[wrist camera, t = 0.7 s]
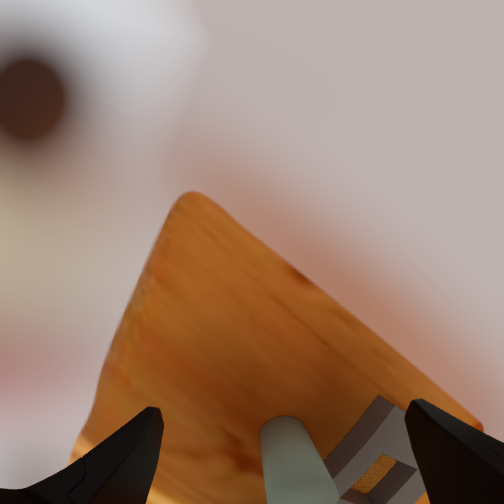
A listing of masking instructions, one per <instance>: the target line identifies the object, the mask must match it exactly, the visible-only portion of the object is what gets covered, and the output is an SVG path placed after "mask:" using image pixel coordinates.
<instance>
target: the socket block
mask: <svg viewBox="0 0 504 504" xmlns="http://www.w3.org/2000/svg"><path fill="white" fill-rule="evenodd" d="M405 413H406V412H405V411H403V410H401V409H400V408H398V407H397V406H395V405H394V404H392V403H390V402H389V401H387V400H385V399H384V398H382V397H381V396H379V395H378V396H377V397H376V399H375V400H374V401H373V403H372V404H371V405H370V407H369V408H368V409H367V411H366V412H365V413H364V415H363V416H362V417H361V418H360V420H359V421H358V422H357V423H356V425H355V426H354V427H353V428H352V429H351V431H350V432H349V433H348V434H347V435H346V437H345V438H344V439H343V440H342V441H341V442H340V443H339V445H338V446H337V447H336V448H335V449H334V450H333V451H332V452H331V453H330V455H329V456H328V457H327V458H326V459H325V460H324V461H323V463H324V465H325V466H326V468H327V470H328V472H329V474H330V476H331V478H332V480H333V481H334V483H335V485H336V487H337V489H338V491H339V500H338V503H337V504H414V503H415V502H416V501H417V500H418V499H419V498H420V497H421V496H422V495H423V494H424V492H425V491H426V488H425V485H424V483H423V480H422V477H421V474H420V471H419V468H418V465H417V463H416V460H415V457H414V454H413V451H412V448H411V444H410V440H409V436H408V432H407V428H406V424H405V420H404V417H405ZM382 453H383V454H385V455H387V456H389V457H391V458H394V459H396V460H398V461H397V463H396V464H395V465H394V466H393V467H392V468H391V470H390V471H389V472H388V473H387V474H386V475H385V476H384V477H383V478H382V479H381V481H380V482H379V483H378V484H377V485H376V486H375V487H374V488H373V489H372V490H371V491H370V492H369V493H368V494H364V493H361V492H358V491H355V490H353V489H350V488H351V487H352V486H353V485H354V484H355V483H356V482H357V481H358V479H359V478H360V477H361V476H362V475H363V474H364V473H365V472H366V471H367V470H368V469H369V468H370V467H371V466H372V464H373V463H374V462H375V461H376V460H377V459H378V458H379V457H380V455H381V454H382Z"/></svg>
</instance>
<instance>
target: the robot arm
mask: <svg viewBox="0 0 504 504" xmlns="http://www.w3.org/2000/svg"><path fill="white" fill-rule="evenodd" d="M404 420H405V424H406V428H407V432H408V436H409V440H410V444H411V448H412V451H413V454H414V457H415V460H416V463H417V465H418V468H419V471H420V474H421V477H422V480H423V483H424V485H425V488H426V491H427V494H428V498H429V501H430V504H504V443H503V442H501V441H499V440H496V439H495V438H493V437H491V436H489V435H486V434H485V433H483V432H481V431H479V430H478V429H476V428H474V427H472V426H470V425H468V424H467V423H465V422H463V421H461V420H459V419H457V418H456V417H454V416H452V415H450V414H449V413H447V412H445V411H443V410H441V409H440V408H438V407H436V406H434V405H433V404H431V403H429V402H427V401H426V400H424V399H422V398H419V399H415V400H412V401H411V402H410V404H409V407H408V409H407V411H406V413H405V417H404ZM163 430H164V422H163V418H162V414H161V411H160V409H159V408H157V407H150V406H149V407H147V408H145V409H144V410H143V411H141V412H140V413H139V414H138V415H136V416H135V417H134V418H133V419H131V420H130V421H129V422H127V423H126V424H125V425H124V426H122V427H121V428H120V429H118V430H117V431H116V432H115V433H113V434H112V435H111V436H109V437H108V438H107V439H105V440H104V441H103V442H101V443H100V444H99V445H97V446H96V447H95V448H93V449H92V450H90V451H89V452H88V453H86V454H85V455H84V456H83V458H82V457H81V458H79V459H78V460H77V461H75V462H74V463H72V464H71V465H69V466H68V467H66V468H65V469H63V470H61V471H59V472H57V473H56V474H54V475H52V476H50V477H48V478H46V479H44V480H42V481H40V482H38V483H36V484H34V485H31V486H29V487H27V488H23V489H3V488H0V504H145V503H146V500H147V497H148V494H149V490H150V487H151V484H152V481H153V477H154V474H155V471H156V468H157V464H158V459H159V453H160V447H161V441H162V436H163Z"/></svg>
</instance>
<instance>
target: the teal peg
mask: <svg viewBox="0 0 504 504" xmlns="http://www.w3.org/2000/svg"><path fill="white" fill-rule="evenodd" d="M259 440H260V448H261V457H262V465H263V474H264V482H265V490H266V498H267V504H337V503H338V500H339V491H338V489H337V487H336V485H335V483H334V481H333V480H332V478H331V476H330V474H329V472H328V470H327V468H326V466H325V465H324V463H323V461H322V459H321V457H320V455H319V453H318V451H317V449H316V447H315V446H314V444H313V442H312V440H311V438H310V436H309V434H308V432H307V430H306V428H305V426H304V425H303V423H302V422H301V421H300V420H298V419H297V418H294V417H291V416H279V417H275V418H273V419H271V420H269V421H268V422H267V423H265V424H264V426H263V427H262V429H261V431H260V434H259Z"/></svg>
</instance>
